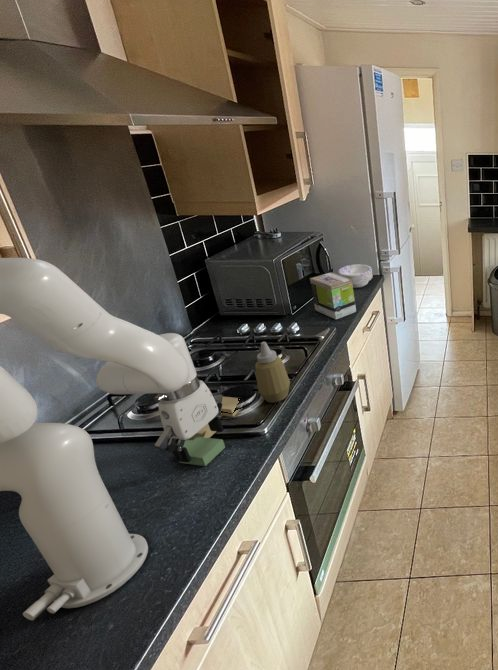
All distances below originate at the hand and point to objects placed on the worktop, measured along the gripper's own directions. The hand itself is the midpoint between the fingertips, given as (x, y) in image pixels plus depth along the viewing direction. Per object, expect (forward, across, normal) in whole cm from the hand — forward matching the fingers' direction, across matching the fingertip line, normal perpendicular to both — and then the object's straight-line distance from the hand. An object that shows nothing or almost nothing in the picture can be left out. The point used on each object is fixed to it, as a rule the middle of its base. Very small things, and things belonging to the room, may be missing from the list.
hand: (201, 445), depth 99 cm
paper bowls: (+5, +107, +16) cm, 108 cm away
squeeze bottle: (+3, +22, -3) cm, 23 cm away
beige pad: (+3, +10, +8) cm, 13 cm away
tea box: (+5, +78, +10) cm, 79 cm away
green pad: (+2, -1, +1) cm, 3 cm away
